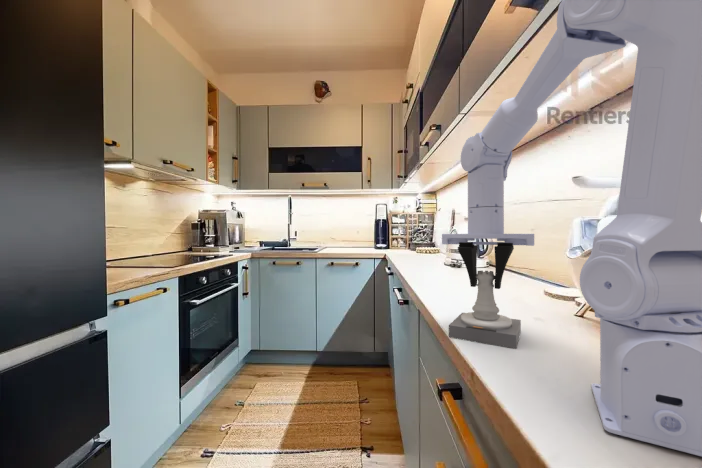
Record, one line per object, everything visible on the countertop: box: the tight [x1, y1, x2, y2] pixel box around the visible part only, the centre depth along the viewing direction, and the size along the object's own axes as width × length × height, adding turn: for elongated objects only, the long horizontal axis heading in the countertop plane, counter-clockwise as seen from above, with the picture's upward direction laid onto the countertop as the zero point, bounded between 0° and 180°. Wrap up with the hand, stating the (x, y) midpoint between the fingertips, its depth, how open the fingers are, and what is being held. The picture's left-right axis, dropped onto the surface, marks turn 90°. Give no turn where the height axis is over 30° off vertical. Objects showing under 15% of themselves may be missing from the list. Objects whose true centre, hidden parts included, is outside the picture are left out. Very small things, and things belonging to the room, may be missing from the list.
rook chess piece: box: [472, 270, 500, 321], centre depth 53 cm, size 4×4×8 cm
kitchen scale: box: [448, 311, 522, 350], centre depth 53 cm, size 10×10×3 cm
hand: (485, 287), depth 53 cm, fingers closed on rook chess piece, 3 cm apart
